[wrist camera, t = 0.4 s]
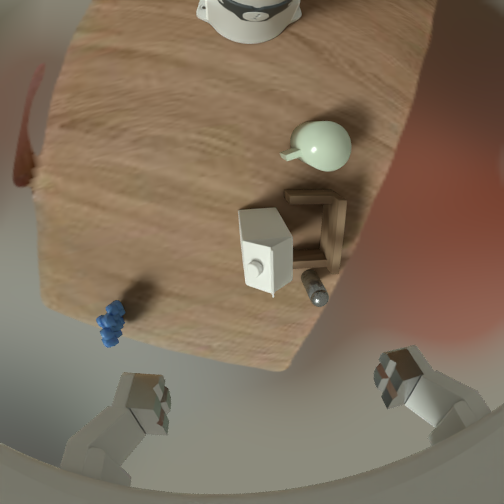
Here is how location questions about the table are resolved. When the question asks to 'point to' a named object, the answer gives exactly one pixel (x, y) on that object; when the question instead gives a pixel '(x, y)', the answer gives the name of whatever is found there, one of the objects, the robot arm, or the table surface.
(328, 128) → the sage mug
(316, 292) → the grey shaker
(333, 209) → the walnut holder
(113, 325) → the grapes
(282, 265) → the milk carton
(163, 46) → the table surface
